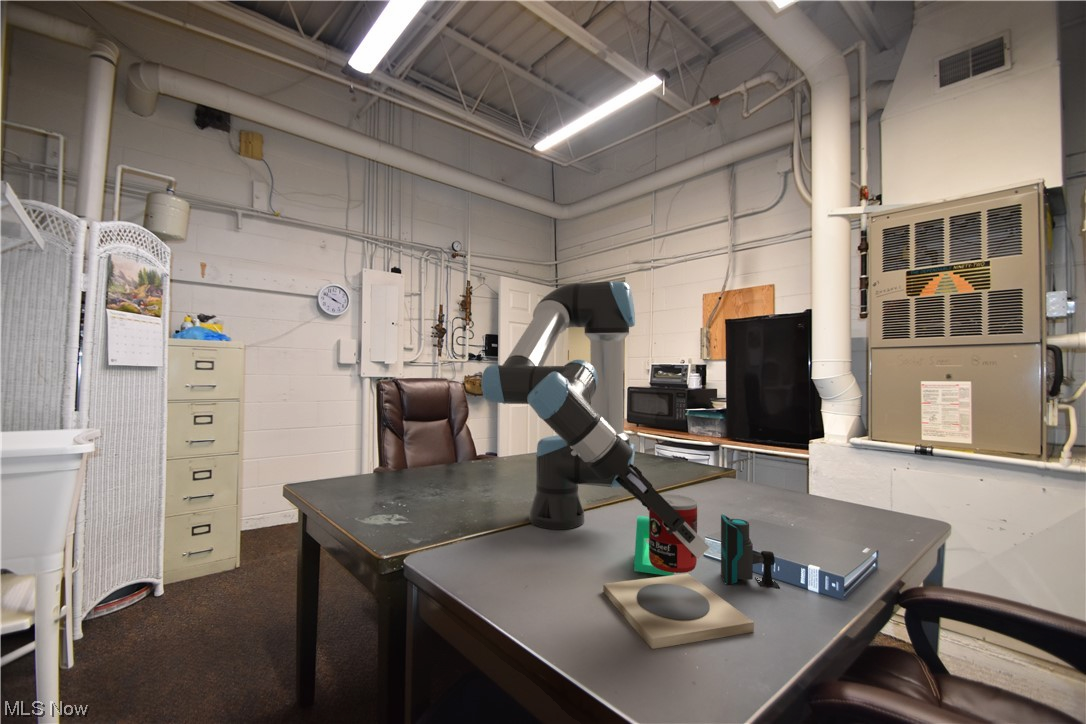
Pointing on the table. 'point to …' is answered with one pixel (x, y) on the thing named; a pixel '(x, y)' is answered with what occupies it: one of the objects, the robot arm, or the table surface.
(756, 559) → the surveillance camera
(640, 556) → the camera mount
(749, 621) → the wooden square board
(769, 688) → the table surface
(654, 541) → the canned food
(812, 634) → the table surface
